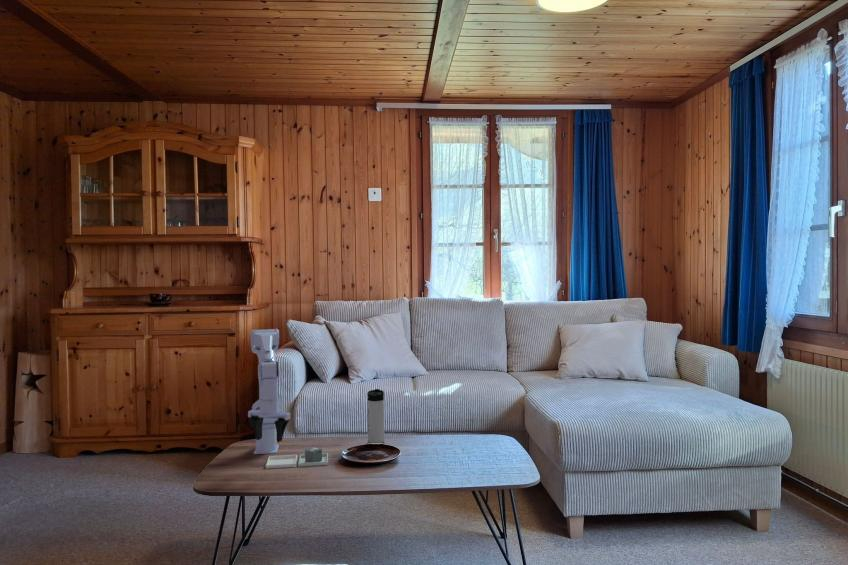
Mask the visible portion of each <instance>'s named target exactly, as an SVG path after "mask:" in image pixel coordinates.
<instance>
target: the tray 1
mask: <svg viewBox="0 0 848 565" xmlns="http://www.w3.org/2000/svg"><path fill="white" fill-rule="evenodd" d="M298 458H299V456H298V454H284V455H269V456H268V458H267V461H266V464H265V469H267V470H268V469H284V468H296V466H297V461H298Z"/></svg>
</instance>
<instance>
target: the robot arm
mask: <svg viewBox="0 0 848 565" xmlns="http://www.w3.org/2000/svg"><path fill="white" fill-rule="evenodd" d="M279 344H280V330H279V329H278V328H275V329H274V328H272V329H269V328H268V329H252V330H251V331H250V346H251V352H252V353H253V354H255V355H257V359H258V365H257V375H258V376H257V377H258V384H259V385H258V386H259V399H257V400H256V401H255V402H254V403H253V404H252V406H251V409H250V410H249V411H247V412H248V413H247V417H248V418H249V419H248V422H249V424H250V426H251V427H252V429H253V432H254V435H255V448H254V451H253V455H264V454H265V455H266V454H267V455H268V454H277V452H278V449H279V447H280V444H278V443H280V442H282V441H283V438H284V434H285V431H286V427H287V425H288V423H289V421H290V419H291V412H286V411H283V410H282V411H281V409H280V404H279V399H278V398H279V384H278V382H279V381H278V380H279V379H280V365H279V361H278V360H277V354H276V352H278V349H279Z"/></svg>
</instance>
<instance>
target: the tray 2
mask: <svg viewBox="0 0 848 565" xmlns="http://www.w3.org/2000/svg"><path fill="white" fill-rule="evenodd" d="M298 458H299V459H298V463H297V467H302V468H303V467H315V466H317V467H319V466H328V465H329V463H328V462H329V453H328V452H322V461H319V462H310V463H309V462H305V453H302V454H299V457H298Z"/></svg>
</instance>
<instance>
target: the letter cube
mask: <svg viewBox="0 0 848 565" xmlns="http://www.w3.org/2000/svg"><path fill="white" fill-rule="evenodd" d="M322 453H323V449H322V448H321V447H317V446H312V447H309V448H306V449H304V454H305V462H309V463H310V462H319V461H322Z"/></svg>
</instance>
